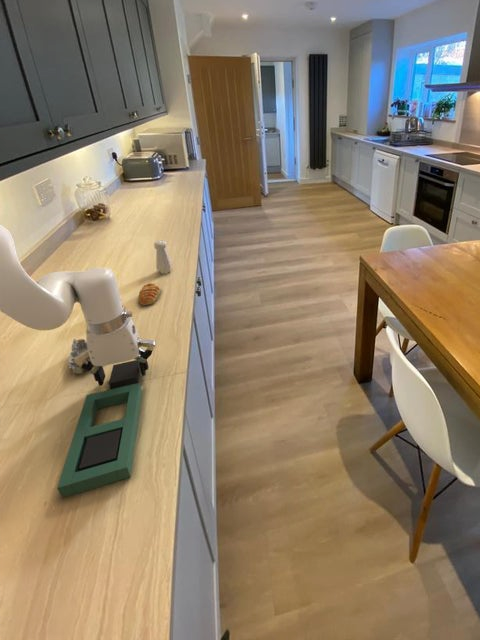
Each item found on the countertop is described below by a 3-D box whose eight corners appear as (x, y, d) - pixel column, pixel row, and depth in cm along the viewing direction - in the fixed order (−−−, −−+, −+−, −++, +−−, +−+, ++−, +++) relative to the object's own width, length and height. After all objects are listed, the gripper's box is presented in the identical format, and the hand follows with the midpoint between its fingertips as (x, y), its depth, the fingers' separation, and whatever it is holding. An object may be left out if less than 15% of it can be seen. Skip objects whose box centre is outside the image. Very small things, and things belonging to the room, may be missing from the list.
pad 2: (111, 392, 77) (108, 383, 76) (115, 373, 82) (113, 364, 81) (139, 385, 79) (136, 376, 78) (141, 368, 84) (139, 359, 83)
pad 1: (83, 478, 60) (78, 468, 59) (91, 448, 65) (87, 438, 64) (119, 467, 62) (115, 457, 60) (124, 438, 67) (120, 429, 66)
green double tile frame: (62, 498, 57) (56, 488, 56) (90, 404, 74) (86, 394, 73) (130, 477, 60) (127, 467, 59) (142, 391, 77) (139, 382, 76)
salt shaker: (159, 276, 126) (153, 246, 121) (155, 270, 130) (149, 241, 125) (174, 272, 129) (169, 242, 124) (170, 266, 134) (165, 237, 128)
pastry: (158, 304, 109) (156, 295, 108) (136, 308, 108) (134, 298, 106) (161, 290, 118) (159, 281, 116) (141, 293, 116) (139, 283, 114)
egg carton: (77, 349, 90) (73, 337, 88) (107, 342, 93) (104, 330, 91) (68, 377, 81) (64, 365, 79) (102, 368, 84) (98, 356, 82)
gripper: (149, 303, 79) (162, 357, 86) (67, 317, 74) (87, 373, 81) (147, 322, 72) (160, 379, 79) (56, 339, 67) (79, 398, 74)
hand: (123, 376), depth 80 cm, fingers open, 9 cm apart
